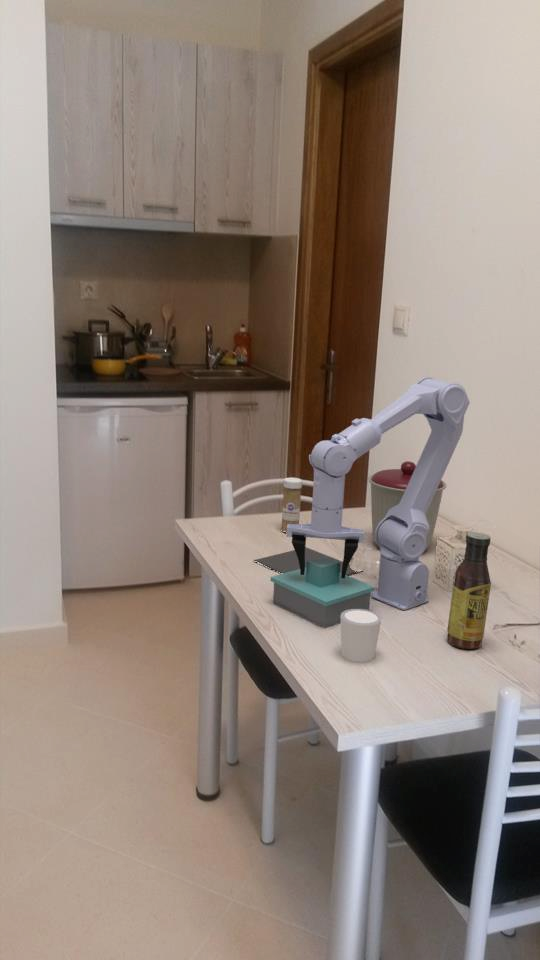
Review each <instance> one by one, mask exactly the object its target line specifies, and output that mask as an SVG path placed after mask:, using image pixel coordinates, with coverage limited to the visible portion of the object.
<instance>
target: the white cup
mask: <svg viewBox="0 0 540 960" xmlns="http://www.w3.org/2000/svg"><path fill="white" fill-rule="evenodd" d="M382 618H383V617H382V616H381V615H380V614H378V613H377V612H376V611H371V610H370V609H369V610H364V609H350V610H345V611H344V612H342V613H341V616H340V619H341V622H340V654H341V657H342V658H344V659H345V660H347V661H350V662H352V663H360V664H363V663H368V662H371V661H373V660H374V659H375V657H376V651H377V645H378V641H379V634H380V630H381V625H382Z"/></svg>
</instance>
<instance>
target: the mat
mask: <svg viewBox="0 0 540 960" xmlns="http://www.w3.org/2000/svg"><path fill="white" fill-rule="evenodd" d="M322 557H328V558H331V559H333V560H336V561H338V562H341V563H340V573H342V565H343V560H339V559H336V557H335V558H334V557H332V556H330V555H326V554H324V553H322V552H319V551H317V550H315V549H311V548H309V547H307V546H305V568H306V566H307V561H310V560H314V559H318V558H322ZM254 561H257V562H259V563H261V564H263V565H265V566H267V567H269V568H271V569H273V570H275V571H274V572H276V571H278V572H280V573H287V572H291V571H295V570H298V569H300V565H299V561H298V557H297V554H296V552H295V549H293V550H290V551H286V552H281V553H277V554H273V555H269V556H267V557H262V558H258V559H253V562H254ZM350 565H351V564H350V563H349V565H348V568H347V571H346V575H347V576H352V574H353V575H356V574H357V573H356V572H357V571H356V572H355V571H354V570H352V569H351V568H350ZM269 568H268V569H269ZM271 569H270V570H271ZM273 570H272V571H273ZM278 572H277V573H278ZM280 573H279V574H280ZM355 573H356V574H355Z"/></svg>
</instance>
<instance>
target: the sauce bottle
mask: <svg viewBox="0 0 540 960" xmlns="http://www.w3.org/2000/svg"><path fill="white" fill-rule="evenodd" d="M465 542H466V543H465V544H466V545H465V552H464V555H463V556H464V559H463V560H462V561H461V563H460V564H459V565H458V567H457V568H456V569H455V570H456V571H455V575H454V582H453V585H452V586H453V587H452V593H451V600H450V606H449V607H450V608H449V613H448V615H449V616H448V622H447V629H446V631H447V637H446V639H447V642H448V643H449V644H450V645H452V646H454V647H456V648H459V649H466V650H475V649H477V648H479V647H481V645H482V642H483V639H484V635H485V628H486V621H487V614H488V606H489V601H490V593H491V592H490V591H491V586H492V585H491V584H492V581H491V577H490V573H489V567H488V566H489V565H488V554H489V553H488V552H489V546H490V544H491V536H489V535H488V534H486V533H482V532H477V531H476V532H468V533H466V536H465Z"/></svg>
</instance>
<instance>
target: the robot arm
mask: <svg viewBox="0 0 540 960" xmlns="http://www.w3.org/2000/svg"><path fill="white" fill-rule="evenodd" d="M470 403H471V402H470V398H469V397H468V394H467V391H466V389H465V387H463V385H461V384H460V383H457V382H449V381H444V380H440V379H435V378H432V377H422V378H420V379H419V380H418V381H417V382H415V383H412V384H410V385H409V387H408V389H406V392H404V393H403V394H402V395H401V396H399V397H398V398H397V399H396V400H394V401H393V402H391V403H390V404H389V405H388V406H387V407H385V408H384V409H383V410H381V411H380V412H379V413H377V414H375V416H373V417H372V418H371V419H370V418H368V417H367V418H366V417H362V418H355V419H353V420H352V421H351V425H350V426H348V427H346V428H345V429H344V430H342V431H341V432H339V433H335V434H333V435H332V436H331V439H330V440H327V439H325V440H321V441H319V442H317V443H316V444H315V445H314V447H313V449H312V451H311V454H309V455H308V460H309V463H310V465H311V467H312V468H313V482H312V484H313V487H312V503H311V504H312V505H311V518H310V523H305V524H304V523H301V524H300V523H299V524H288V525H287V533H286V537H287V538H291V537H292V538H291V544H292V546H293V550H295V552H296V554H297V557H298V561H299V565H300V575H304V573H305V547H307V546H306V544H307V538H312V539H313V538H314V539H324V540H325V539H326V540H339V541H344V547H343V549H344V551H343V559H342V562H343V565H342V573H341V578H345V575H346V571H347V568H348V565H349V564H350V563H351V561H352V559H353V557H354V555H355V553H356V552H357V550H358V548H359V543H362V544H364V543H365V538H366V537H365V536H366V530H365V529H359V528H353V527H347V526H342V524H343V511H344V510H343V509H344V498H345V497H344V495H345V483H346V482H345V481H346V474H348V473H349V472H350V471H351V469H352V467H353V464H354V463H355V461H356V460H358V459H359V458H361V456H363V455H364V454H367V453H368V452H369V451H370V450H372V449H373V448H375V447H377V446H378V445H380V443H381V440H382V435H383V434H385V433H386V432H388V431H390V430H391V429H393V428H394V427H396V426H398V425H399V424H401V423H403V422H404V421H406V420H407V419H410V418H411V417H412V416H415V415H418V414H420V415H423V417H425V419H427V423H428V425H429V427H430V430H431V431H430V434H429V436H428V438H427V441H426V443H425V445H424V447H423V450H422V452H421V454H420V457H419V459H418V461H417V463H416V464H415V465H416V468H415V470H414V472H413V474H412V477H411V479H410V481H409V483H408V486H407V488H406V490H405V492H404V495H403V497H402V499H401V501H400V503H399V504H398V505H396V506H394V507H392V508H391V509H389V510H388V513H387V515H386V516H385V518H384V519H383V520H382V521H381V522H380V523H379V524H378V526H377V528H376V531H375V538H376V541H377V542H378V544H380V547H379V551H380V557H379V569H378V580H377V589H376V590H375V591H372V592H371V594H370V598H374V599H376V600H378V601H380V602H383V603H385V604H388V605H389V606H392V607H394V608H398V609H400V610H402V611H406V610H408V609H412V608H414V607H417V606H420V605H423V604H425V603H428V602H429V600H430V599H429V598H428V597H427V596H428V587H429V579H430V577H429V576H430V571H429V568H428V566H427V565H426V564H424V563H423V562H422V561H420V560H419V558H420V557H421V556H422V555H423V554H424V553H425V551H426V550H425V548H426V540H427V534H428V532H429V530H430V527H429V524H428V521H427V519H426V513H427V510H428V508H429V506H430V504H431V502H432V499H433V497H434V495H435V493H436V490H437V488H438V486H439V484H440V481H441V480H442V478H443V477H444V474H445V472H446V470H447V468H448V466H449V463H450V460H451V459H452V456H453V454H454V452H455V450H456V448H457V446H458V443H459V441H460V439H461V436H462V434H463V431H464V422H465V415H466V412H467V410H468V408H469V405H470ZM405 523H407V524H408V525H407V524H405ZM424 550H425V551H424Z"/></svg>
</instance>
